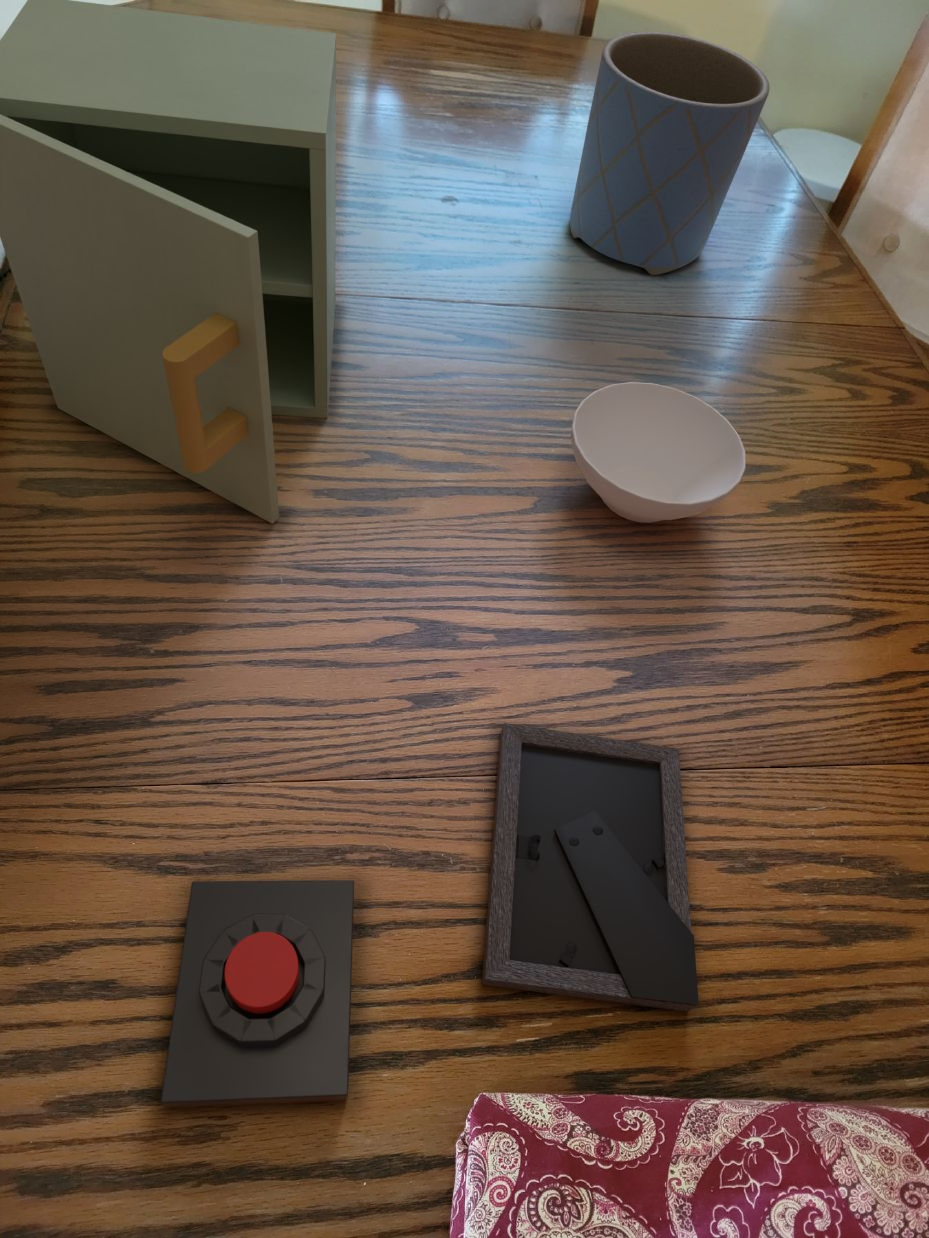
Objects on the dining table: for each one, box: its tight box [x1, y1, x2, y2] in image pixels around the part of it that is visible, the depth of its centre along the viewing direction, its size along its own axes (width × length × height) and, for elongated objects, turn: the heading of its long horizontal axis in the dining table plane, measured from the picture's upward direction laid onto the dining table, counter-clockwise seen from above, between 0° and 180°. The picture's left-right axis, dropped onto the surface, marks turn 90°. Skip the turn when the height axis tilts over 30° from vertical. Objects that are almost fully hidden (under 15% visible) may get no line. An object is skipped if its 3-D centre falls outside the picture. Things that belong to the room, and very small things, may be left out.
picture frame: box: [481, 722, 700, 1012], centre depth 57 cm, size 13×2×18 cm
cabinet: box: [0, 0, 337, 419], centre depth 74 cm, size 18×24×26 cm
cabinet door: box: [0, 114, 280, 525], centre depth 63 cm, size 7×24×26 cm, turn 60°
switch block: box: [160, 879, 355, 1109], centre depth 49 cm, size 12×10×4 cm
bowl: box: [570, 381, 746, 524], centre depth 78 cm, size 16×16×7 cm
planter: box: [569, 31, 771, 276], centre depth 101 cm, size 19×19×20 cm
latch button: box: [225, 932, 299, 1014], centre depth 47 cm, size 4×4×2 cm
